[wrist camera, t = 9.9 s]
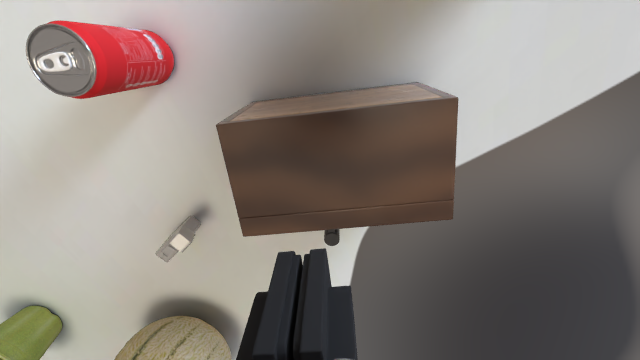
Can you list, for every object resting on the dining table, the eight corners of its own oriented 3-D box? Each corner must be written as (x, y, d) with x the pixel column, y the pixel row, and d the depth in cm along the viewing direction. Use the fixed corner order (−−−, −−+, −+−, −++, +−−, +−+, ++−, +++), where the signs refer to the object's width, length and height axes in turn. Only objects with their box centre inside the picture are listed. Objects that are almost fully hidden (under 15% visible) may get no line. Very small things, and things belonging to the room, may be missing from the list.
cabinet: (251, 101, 34) (215, 124, 23) (418, 82, 33) (458, 97, 22) (268, 184, 38) (242, 237, 27) (418, 170, 36) (453, 219, 26)
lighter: (182, 242, 41) (149, 284, 34) (171, 234, 41) (136, 274, 33) (216, 209, 39) (189, 246, 32) (205, 200, 39) (175, 235, 31)
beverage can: (184, 80, 33) (110, 94, 22) (138, 87, 34) (44, 105, 23) (168, 26, 31) (79, 13, 20) (120, 34, 32) (7, 26, 21)
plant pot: (67, 298, 46) (10, 351, 38) (80, 345, 49) (31, 402, 41) (3, 292, 46) (-68, 344, 38) (20, 340, 49) (-40, 396, 41)
